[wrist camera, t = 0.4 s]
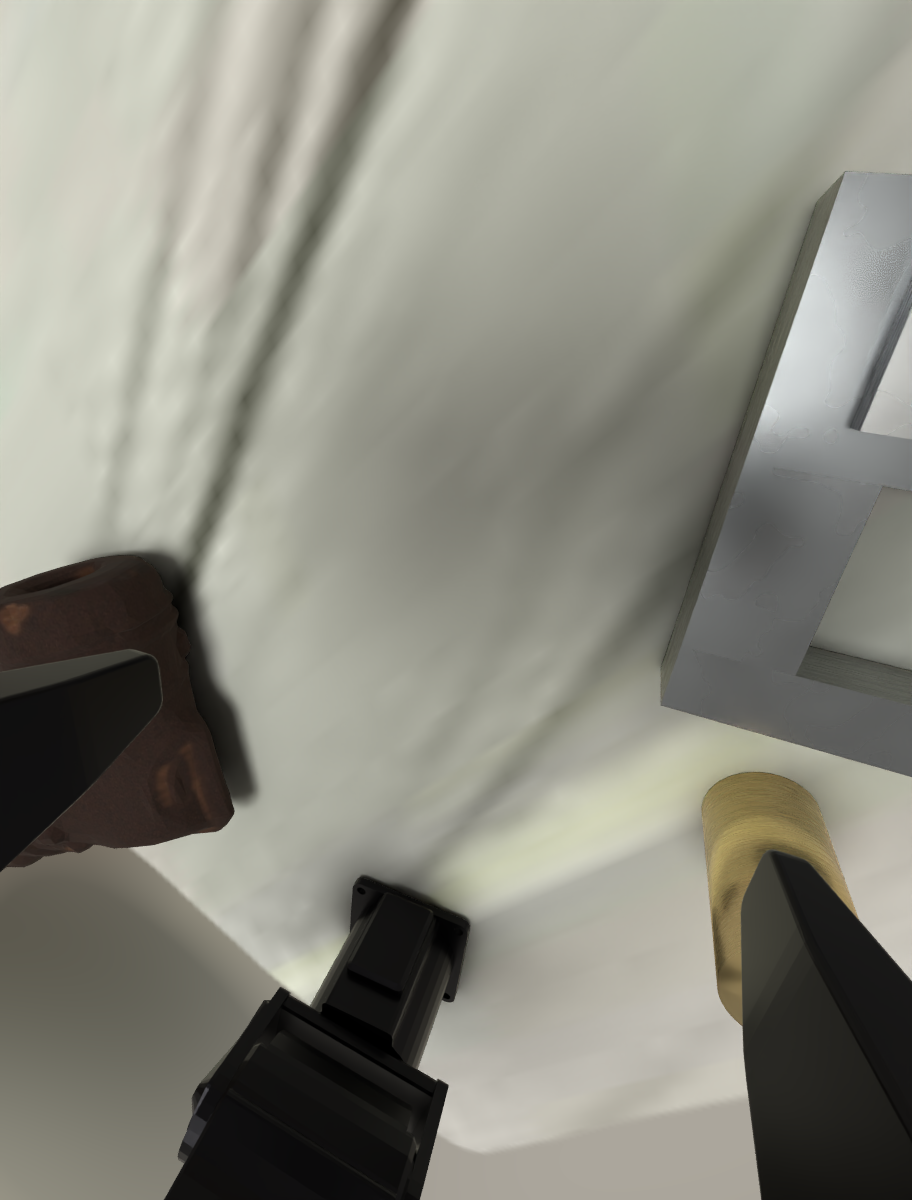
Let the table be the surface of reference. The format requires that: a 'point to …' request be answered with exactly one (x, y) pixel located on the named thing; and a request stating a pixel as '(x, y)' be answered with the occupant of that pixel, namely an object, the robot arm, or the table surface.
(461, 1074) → the table surface
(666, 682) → the metal square frame
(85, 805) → the dark brown rounded lump
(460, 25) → the table surface
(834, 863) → the tan rectangular block
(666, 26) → the table surface
